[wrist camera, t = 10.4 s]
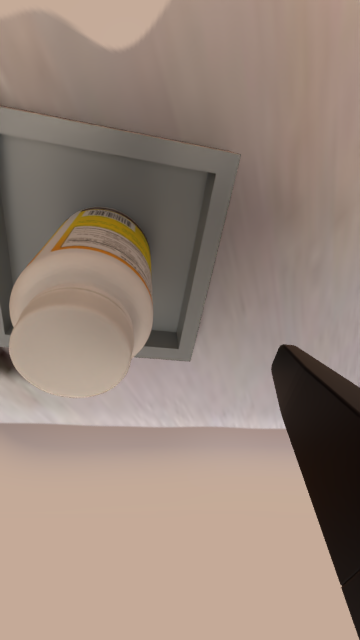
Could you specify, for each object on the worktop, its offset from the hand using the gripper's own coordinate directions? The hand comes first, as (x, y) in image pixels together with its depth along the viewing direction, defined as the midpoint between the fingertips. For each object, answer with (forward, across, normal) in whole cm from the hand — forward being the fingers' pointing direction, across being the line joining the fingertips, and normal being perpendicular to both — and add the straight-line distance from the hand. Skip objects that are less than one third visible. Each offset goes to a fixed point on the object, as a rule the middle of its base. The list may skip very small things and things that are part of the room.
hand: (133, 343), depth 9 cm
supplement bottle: (+11, +2, +1) cm, 12 cm away
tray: (+12, +2, +1) cm, 12 cm away
